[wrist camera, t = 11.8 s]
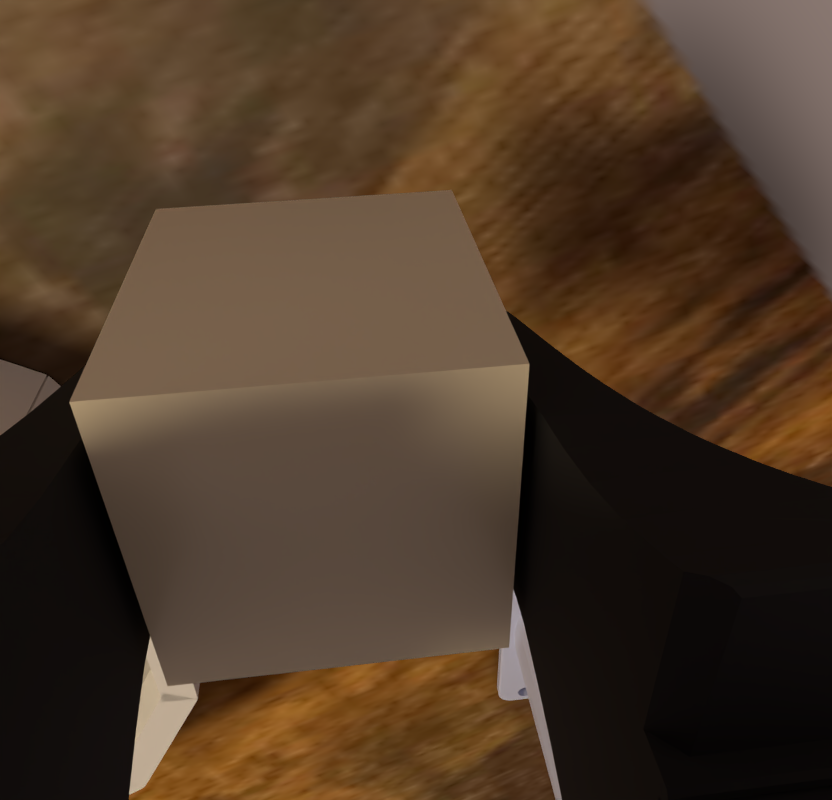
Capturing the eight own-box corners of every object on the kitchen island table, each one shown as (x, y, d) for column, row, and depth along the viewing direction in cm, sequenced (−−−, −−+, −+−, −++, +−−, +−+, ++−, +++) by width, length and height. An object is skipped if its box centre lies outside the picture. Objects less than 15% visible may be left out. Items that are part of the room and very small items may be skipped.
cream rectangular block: (451, 190, 12) (529, 363, 8) (451, 422, 14) (508, 647, 10) (155, 209, 11) (69, 402, 7) (209, 444, 14) (168, 686, 10)
